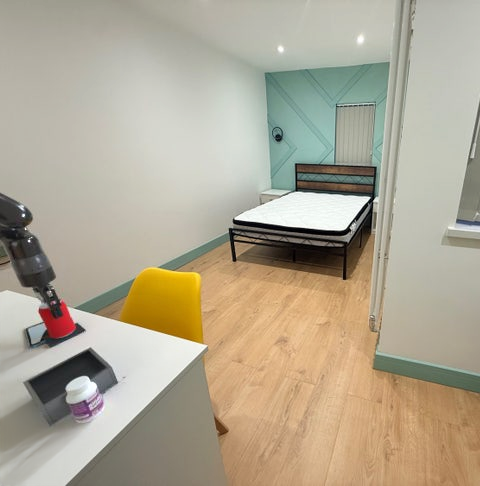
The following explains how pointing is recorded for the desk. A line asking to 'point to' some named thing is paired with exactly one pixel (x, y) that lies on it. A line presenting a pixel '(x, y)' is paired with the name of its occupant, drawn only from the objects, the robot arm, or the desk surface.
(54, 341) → the mat
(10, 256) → the robot arm
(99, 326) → the desk surface
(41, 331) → the smartphone
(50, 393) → the basin
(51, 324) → the beverage can
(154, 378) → the desk surface
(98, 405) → the pill bottle
